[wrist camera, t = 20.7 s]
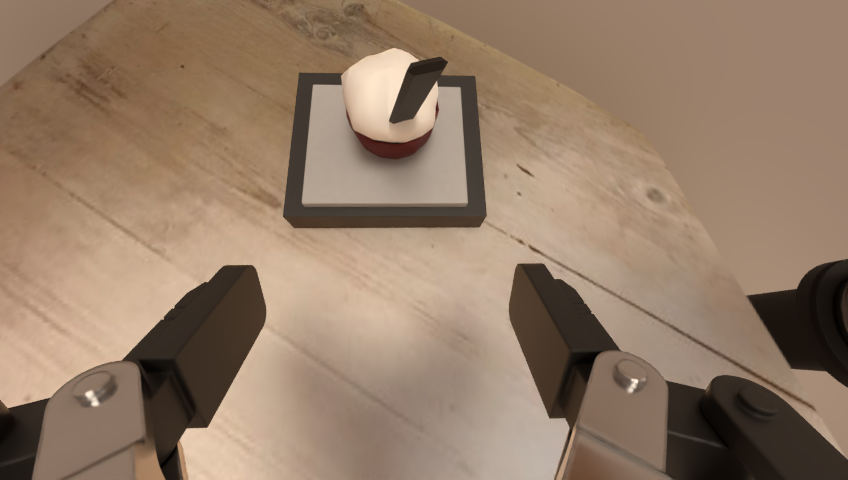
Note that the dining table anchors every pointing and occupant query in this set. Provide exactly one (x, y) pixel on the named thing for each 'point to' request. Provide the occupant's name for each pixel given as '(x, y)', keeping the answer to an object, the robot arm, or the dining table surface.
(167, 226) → the dining table surface
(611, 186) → the dining table surface
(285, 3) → the dining table surface
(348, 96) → the cocoa
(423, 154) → the scale
